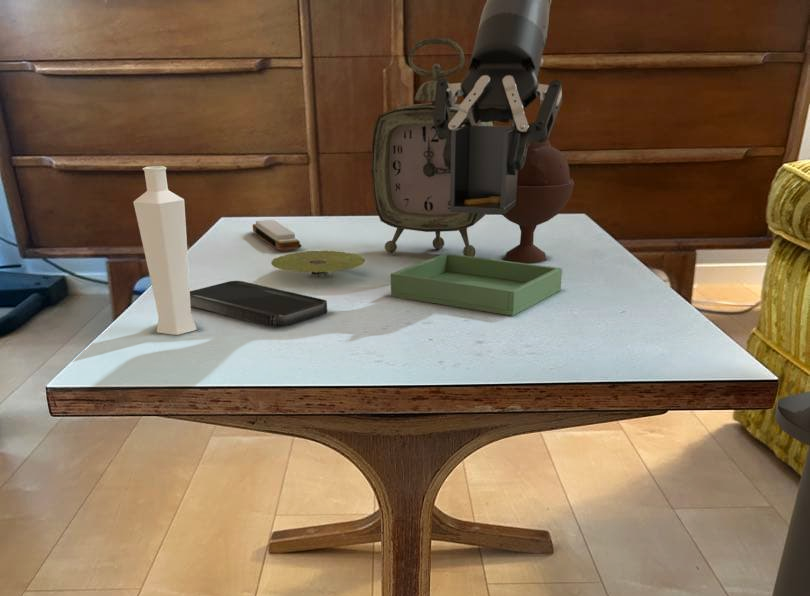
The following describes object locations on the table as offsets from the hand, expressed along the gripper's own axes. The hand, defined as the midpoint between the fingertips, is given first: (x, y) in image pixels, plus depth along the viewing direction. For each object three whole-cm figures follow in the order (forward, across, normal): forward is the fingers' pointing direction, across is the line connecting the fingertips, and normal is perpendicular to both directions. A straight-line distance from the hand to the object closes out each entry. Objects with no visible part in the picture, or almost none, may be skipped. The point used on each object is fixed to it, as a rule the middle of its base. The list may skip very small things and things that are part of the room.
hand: (481, 168), depth 93 cm
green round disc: (+8, -20, +11) cm, 24 cm away
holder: (+2, 0, +4) cm, 5 cm away
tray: (+9, 0, +9) cm, 13 cm away
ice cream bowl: (-4, +2, +23) cm, 23 cm away
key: (+1, 0, +4) cm, 4 cm away
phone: (+19, -21, 0) cm, 28 cm away
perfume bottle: (+25, -25, -7) cm, 37 cm away
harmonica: (-4, -34, +23) cm, 41 cm away
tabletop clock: (-4, -10, +23) cm, 25 cm away
